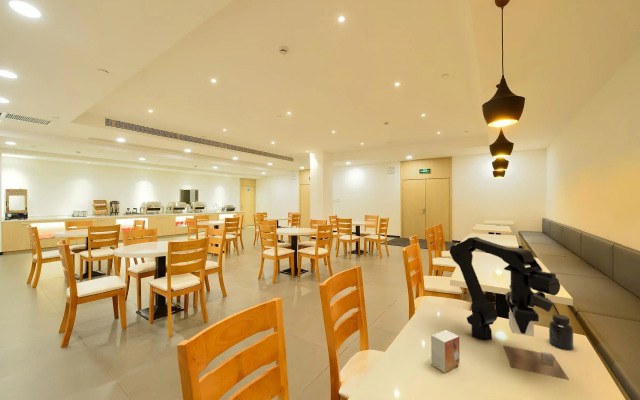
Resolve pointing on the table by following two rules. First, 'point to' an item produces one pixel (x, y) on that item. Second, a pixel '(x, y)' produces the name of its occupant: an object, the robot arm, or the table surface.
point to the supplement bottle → (561, 332)
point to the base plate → (532, 362)
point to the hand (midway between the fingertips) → (520, 329)
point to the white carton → (515, 327)
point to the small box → (445, 350)
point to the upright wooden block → (547, 358)
